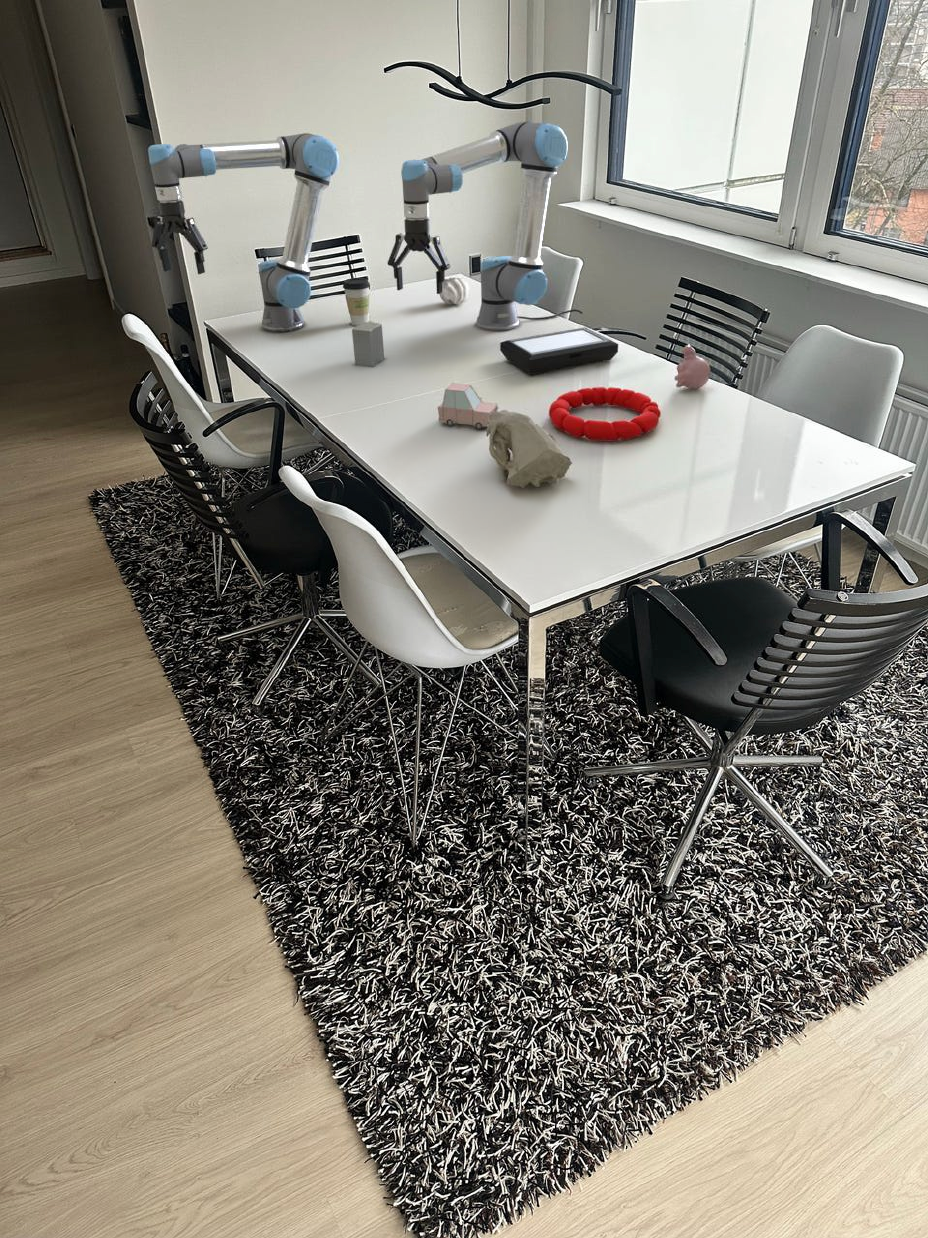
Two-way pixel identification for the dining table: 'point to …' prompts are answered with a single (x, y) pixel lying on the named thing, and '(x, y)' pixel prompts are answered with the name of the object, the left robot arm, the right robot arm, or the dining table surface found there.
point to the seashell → (454, 291)
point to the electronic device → (558, 350)
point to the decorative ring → (604, 428)
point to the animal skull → (525, 450)
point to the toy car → (465, 406)
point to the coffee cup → (357, 299)
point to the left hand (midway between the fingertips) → (184, 271)
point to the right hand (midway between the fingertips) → (419, 291)
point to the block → (368, 344)
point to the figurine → (692, 370)
